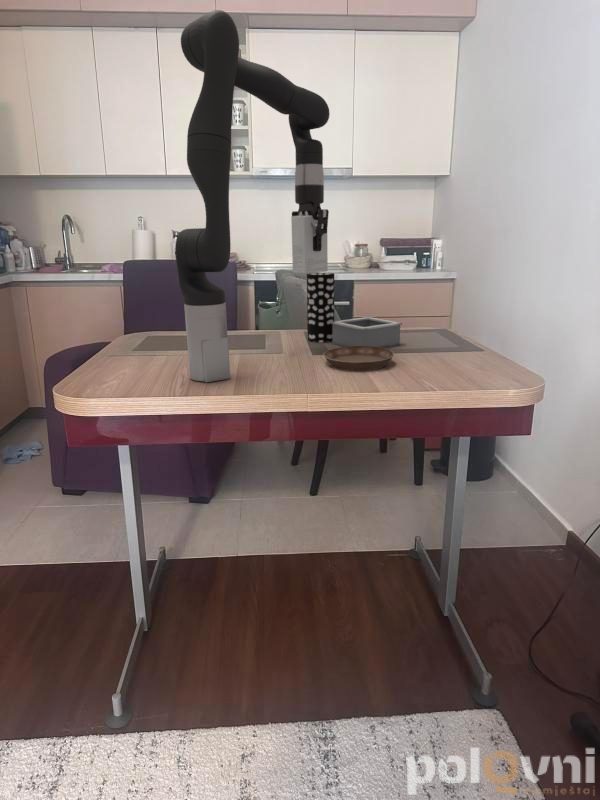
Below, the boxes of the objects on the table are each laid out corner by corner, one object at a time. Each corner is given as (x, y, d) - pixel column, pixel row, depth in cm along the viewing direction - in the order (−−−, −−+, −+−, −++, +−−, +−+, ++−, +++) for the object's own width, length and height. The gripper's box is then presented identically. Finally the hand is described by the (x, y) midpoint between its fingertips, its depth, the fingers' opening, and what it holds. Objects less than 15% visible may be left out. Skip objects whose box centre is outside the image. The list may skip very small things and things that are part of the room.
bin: (401, 345, 157) (401, 322, 155) (362, 351, 149) (363, 328, 147) (368, 337, 168) (368, 316, 166) (331, 343, 161) (331, 321, 159)
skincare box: (314, 271, 151) (314, 215, 147) (328, 272, 146) (328, 214, 142) (291, 272, 146) (290, 215, 142) (305, 273, 141) (304, 214, 137)
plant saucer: (345, 376, 125) (345, 364, 124) (311, 361, 140) (311, 349, 139) (407, 367, 132) (408, 355, 131) (369, 354, 147) (369, 343, 146)
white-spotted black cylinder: (334, 342, 162) (335, 274, 156) (307, 342, 162) (306, 275, 156) (333, 337, 170) (333, 272, 164) (307, 337, 170) (306, 273, 164)
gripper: (337, 182, 136) (337, 251, 141) (305, 186, 147) (306, 250, 152) (313, 181, 132) (313, 252, 137) (282, 186, 143) (283, 251, 148)
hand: (309, 250), depth 145 cm, fingers closed on skincare box, 6 cm apart
